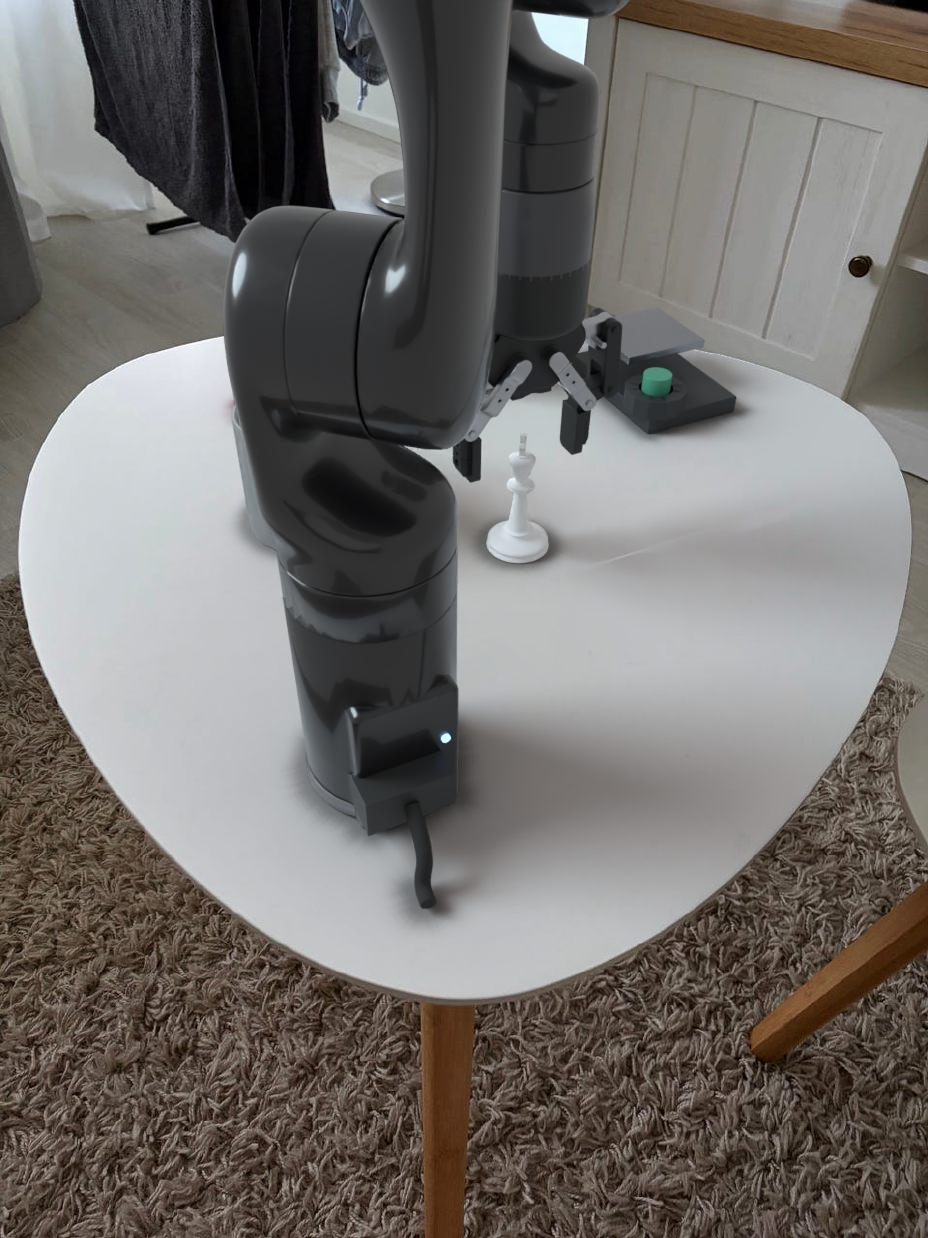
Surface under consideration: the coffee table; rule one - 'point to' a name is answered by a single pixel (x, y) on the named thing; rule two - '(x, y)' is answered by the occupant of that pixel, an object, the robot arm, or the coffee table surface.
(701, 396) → the scale
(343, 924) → the coffee table surface
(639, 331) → the pan
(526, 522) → the chess piece
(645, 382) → the tare button
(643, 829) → the coffee table surface
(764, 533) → the coffee table surface
